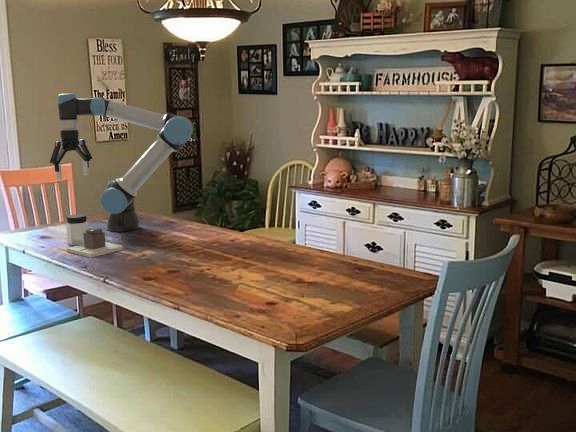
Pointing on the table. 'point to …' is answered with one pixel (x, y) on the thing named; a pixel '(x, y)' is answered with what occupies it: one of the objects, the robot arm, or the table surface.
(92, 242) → the brown box
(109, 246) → the board
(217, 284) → the table surface
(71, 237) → the jar
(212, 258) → the table surface
